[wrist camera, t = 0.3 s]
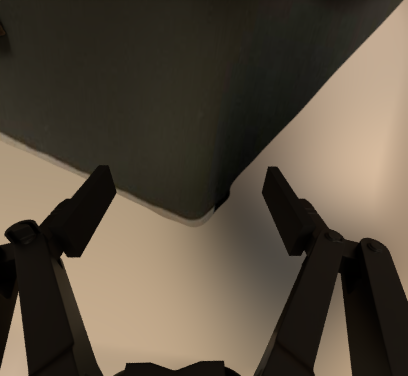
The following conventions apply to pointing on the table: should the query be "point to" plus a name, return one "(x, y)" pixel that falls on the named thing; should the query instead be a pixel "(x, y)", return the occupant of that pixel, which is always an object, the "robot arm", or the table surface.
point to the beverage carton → (1, 31)
